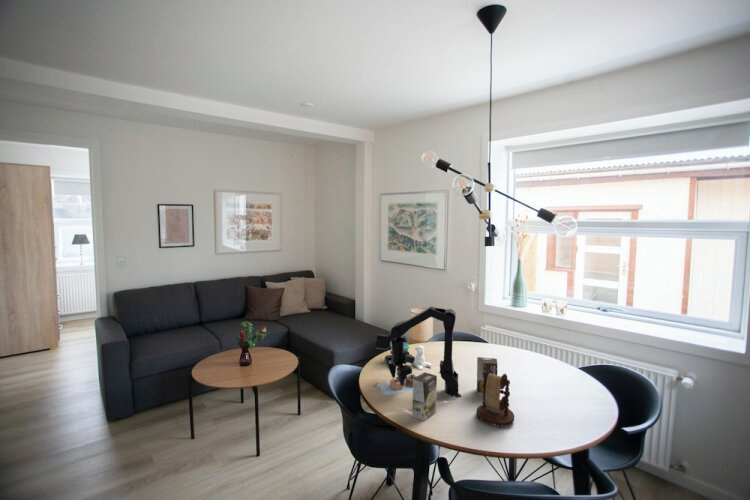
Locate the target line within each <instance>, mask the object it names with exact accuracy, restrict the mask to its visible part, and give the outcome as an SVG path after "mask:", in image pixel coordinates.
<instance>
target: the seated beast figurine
mask: <svg viewBox="0 0 750 500" xmlns="http://www.w3.org/2000/svg"><path fill="white" fill-rule="evenodd" d="M414 349H415V351H416V355H415V360H414V364H413V365H414V366H415V367H416V368H417V369H418V371H422V370H423V368H427V369H431V368H432V367H433V366H432V363H430V362H427V361H425V359H426V358H425V355H424V353H425V352H426V351H425V347H424V346H423V345H419V346H417V347H414Z"/></svg>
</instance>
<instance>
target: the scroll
mask: <svg viewBox="0 0 750 500" xmlns="http://www.w3.org/2000/svg"><path fill="white" fill-rule="evenodd" d="M483 376H484V377H483V378H484V381H483V382H484V383H483V385H482V387H483V389H484V391H483V393H484V394H483V396H482V404H480V405H479V406H477V407H476V416H477V419H478V420H480V421H482V422H484V423H487V424H489V425H493V426H498V427H499V429H502V428H503V426H508V425H510V424H513V422H514V421H515V414H514V412H513V411H512V410H511V409H510V403H509V401H510V400H509V397H510V395H511V392H510V384H511V382H510V380H509V379H508V375H507V374H506V373H503V374H502V376H499V375H498V374H497V375H494V374H492V370H491V369H488V370H487V371H486V372H485V373H483ZM504 389H505V390H504ZM501 394H503V396H502V397H501ZM500 398H501V399H500Z"/></svg>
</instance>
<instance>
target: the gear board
mask: <svg viewBox="0 0 750 500" xmlns="http://www.w3.org/2000/svg"><path fill="white" fill-rule="evenodd" d="M376 386H378V387H379V389H380V390H381V391H382V392H383V394H385V395H386V396H392V395H396V394H400V393H406V392H411V391H412V392H413V386H411V387H410V386H409V385H406V379H405V387H403V389H399V390H397V389H392V387H390V381H388V382H382V383H376Z"/></svg>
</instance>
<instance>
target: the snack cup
mask: <svg viewBox="0 0 750 500" xmlns="http://www.w3.org/2000/svg"><path fill="white" fill-rule="evenodd" d="M409 349H410V345H409V343H408V342H407V343H406V342H404V351H408V350H409ZM390 351H392V342H391V347H390ZM408 352H409V351H408Z"/></svg>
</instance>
